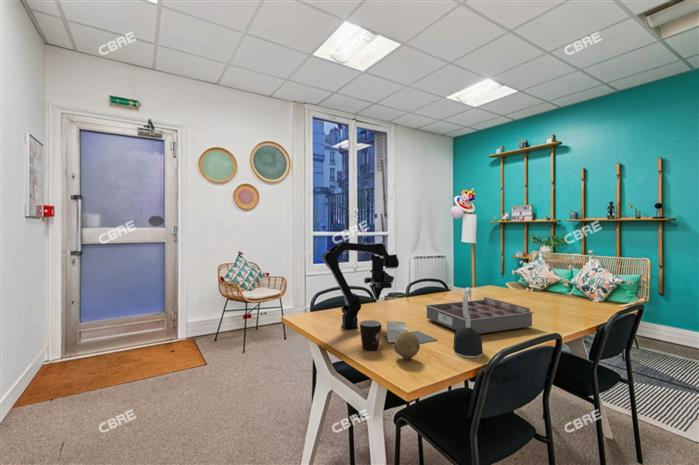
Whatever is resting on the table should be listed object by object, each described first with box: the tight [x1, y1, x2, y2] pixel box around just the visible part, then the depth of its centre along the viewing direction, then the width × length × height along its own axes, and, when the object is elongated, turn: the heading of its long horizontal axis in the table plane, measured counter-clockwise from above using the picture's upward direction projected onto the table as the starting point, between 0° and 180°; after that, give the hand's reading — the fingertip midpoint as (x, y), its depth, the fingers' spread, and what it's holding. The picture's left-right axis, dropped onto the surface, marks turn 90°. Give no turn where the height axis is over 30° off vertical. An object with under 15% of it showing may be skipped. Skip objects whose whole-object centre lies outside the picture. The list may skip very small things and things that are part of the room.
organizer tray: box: [424, 296, 535, 335], centre depth 167 cm, size 32×40×10 cm
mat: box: [383, 330, 438, 344], centre depth 145 cm, size 18×14×1 cm
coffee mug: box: [359, 319, 382, 352], centre depth 133 cm, size 12×9×10 cm
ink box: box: [386, 321, 408, 343], centre depth 145 cm, size 9×5×15 cm
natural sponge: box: [393, 331, 421, 360], centre depth 121 cm, size 9×9×10 cm
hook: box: [452, 287, 484, 358], centre depth 128 cm, size 11×11×25 cm
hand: (377, 299), depth 165 cm, fingers closed
